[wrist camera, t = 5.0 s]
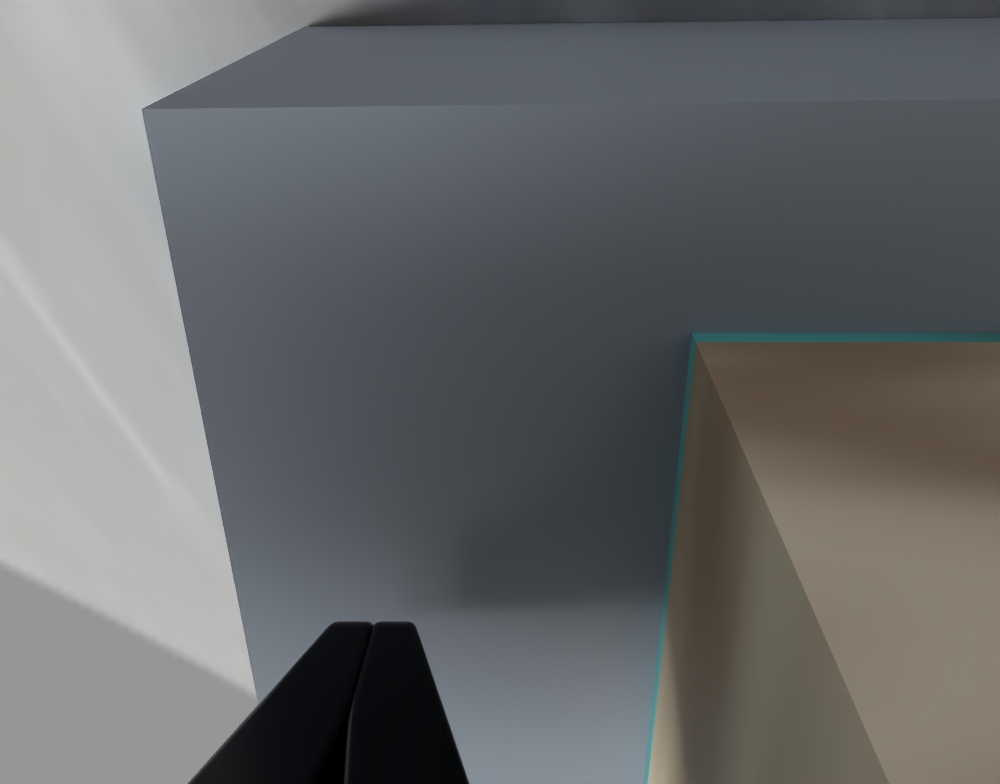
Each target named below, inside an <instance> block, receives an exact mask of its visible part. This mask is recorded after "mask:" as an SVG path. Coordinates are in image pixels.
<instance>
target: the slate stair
mask: <svg viewBox="0 0 1000 784" xmlns="http://www.w3.org/2000/svg"><path fill="white" fill-rule="evenodd" d="M142 113H143V118H144V123H145V128H146V133H147V138H148V143H149V148H150V154H151V159H152V164H153V169H154V174H155V179H156V184H157V189H158V194H159V199H160V205H161V210H162V215H163V220H164V225H165V230H166V235H167V240H168V245H169V250H170V256H171V261H172V266H173V271H174V276H175V281H176V286H177V291H178V296H179V301H180V307H181V312H182V317H183V322H184V327H185V332H186V337H187V342H188V347H189V352H190V358H191V363H192V368H193V373H194V378H195V383H196V388H197V393H198V398H199V403H200V409H201V414H202V419H203V424H204V429H205V434H206V439H207V444H208V449H209V454H210V460H211V465H212V470H213V475H214V480H215V485H216V490H217V495H218V500H219V505H220V511H221V516H222V521H223V526H224V531H225V536H226V541H227V546H228V551H229V557H230V562H231V567H232V572H233V577H234V582H235V587H236V592H237V597H238V602H239V608H240V613H241V618H242V623H243V628H244V633H245V638H246V643H247V648H248V653H249V659H250V664H251V669H252V674H253V679H254V684H255V689H256V694H257V699H258V704H259V703H260V702H261V701H262V700H263V699H264V698H265V697H266V695H267V694H268V693H269V692H270V691H271V690H272V689H273V688H274V686H275V685H276V684H277V683H278V682H279V681H280V680H281V679H282V677H283V676H284V675H285V674H286V673H287V672H288V671H289V670H290V669H291V667H292V666H293V665H294V664H295V663H296V662H297V661H298V660H299V658H300V657H301V656H302V655H303V654H304V653H305V652H306V651H307V649H308V648H309V647H310V646H311V645H312V644H313V643H314V642H315V641H316V639H317V638H318V637H319V636H320V635H321V634H322V633H323V632H324V630H325V629H326V628H327V627H328V626H329V625H330V624H332V623H334V622H337V621H368V622H371V623H372V624H373V625H374V624H375V623H377V622H380V621H408V622H412V623H414V625H415V626H416V628H417V630H418V633H419V636H420V639H421V642H422V645H423V648H424V651H425V654H426V657H427V660H428V663H429V666H430V669H431V672H432V675H433V678H434V680H435V683H436V686H437V689H438V692H439V695H440V698H441V701H442V704H443V707H444V710H445V713H446V716H447V719H448V722H449V725H450V728H451V731H452V733H453V736H454V739H455V742H456V745H457V748H458V751H459V754H460V757H461V760H462V763H463V766H464V769H465V772H466V775H467V778H468V781H469V783H470V784H644V778H645V769H646V760H647V750H648V741H649V731H650V722H651V712H652V703H653V693H654V684H655V675H656V665H657V656H658V646H659V637H660V627H661V618H662V608H663V599H664V590H665V580H666V571H667V561H668V552H669V542H670V533H671V523H672V514H673V505H674V495H675V486H676V476H677V467H678V457H679V448H680V438H681V429H682V420H683V410H684V401H685V391H686V382H687V372H688V363H689V353H690V344H691V335H692V333H1000V18H932V19H856V20H780V21H704V22H628V23H552V24H476V25H400V26H324V27H303V28H301V29H299V30H297V31H295V32H293V33H291V34H289V35H287V36H285V37H283V38H281V39H279V40H278V41H276V42H274V43H272V44H270V45H268V46H266V47H264V48H262V49H260V50H258V51H256V52H254V53H252V54H250V55H248V56H246V57H244V58H242V59H240V60H238V61H236V62H234V63H232V64H230V65H228V66H226V67H224V68H222V69H220V70H218V71H216V72H214V73H212V74H210V75H208V76H206V77H204V78H202V79H200V80H198V81H196V82H194V83H192V84H191V85H189V86H187V87H185V88H183V89H181V90H179V91H177V92H175V93H173V94H171V95H169V96H167V97H165V98H163V99H161V100H159V101H157V102H155V103H153V104H151V105H149V106H147V107H145V108H143V109H142Z"/></svg>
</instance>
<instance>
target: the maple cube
mask: <svg viewBox="0 0 1000 784" xmlns="http://www.w3.org/2000/svg"><path fill="white" fill-rule="evenodd" d="M644 784H1000V333H692V335H691V344H690V353H689V363H688V372H687V382H686V391H685V401H684V410H683V420H682V429H681V438H680V448H679V457H678V467H677V476H676V486H675V495H674V505H673V514H672V523H671V533H670V542H669V552H668V561H667V571H666V580H665V590H664V599H663V608H662V618H661V627H660V637H659V646H658V656H657V665H656V675H655V684H654V693H653V703H652V712H651V722H650V731H649V741H648V750H647V760H646V769H645V778H644Z"/></svg>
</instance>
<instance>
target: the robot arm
mask: <svg viewBox="0 0 1000 784" xmlns="http://www.w3.org/2000/svg"><path fill="white" fill-rule="evenodd" d="M188 784H470V783H469V781H468V778H467V775H466V772H465V769H464V766H463V763H462V760H461V757H460V754H459V751H458V748H457V745H456V742H455V739H454V736H453V733H452V731H451V728H450V725H449V722H448V719H447V716H446V713H445V710H444V707H443V704H442V701H441V698H440V695H439V692H438V689H437V686H436V683H435V680H434V678H433V675H432V672H431V669H430V666H429V663H428V660H427V657H426V654H425V651H424V648H423V645H422V642H421V639H420V636H419V633H418V630H417V628H416V626H415V625H414V623H412V622H408V621H380V622H377V623H375V624H374V625H373V624H372V623H371V622H368V621H337V622H334V623H332V624H330V625H329V626H328V627H327V628H326V629H325V630H324V632H323V633H322V634H321V635H320V636H319V637H318V638H317V639H316V641H315V642H314V643H313V644H312V645H311V646H310V647H309V648H308V649H307V651H306V652H305V653H304V654H303V655H302V656H301V657H300V658H299V660H298V661H297V662H296V663H295V664H294V665H293V666H292V667H291V669H290V670H289V671H288V672H287V673H286V674H285V675H284V676H283V677H282V679H281V680H280V681H279V682H278V683H277V684H276V685H275V686H274V688H273V689H272V690H271V691H270V692H269V693H268V694H267V695H266V697H265V698H264V699H263V700H262V701H261V702H260V703H259V704H258V706H257V707H256V708H255V709H254V710H253V711H252V712H251V713H250V714H249V716H248V717H247V718H246V719H245V720H244V721H243V722H242V724H241V725H240V726H239V727H238V728H237V729H236V730H235V731H234V732H233V734H232V735H231V736H230V737H229V738H228V739H227V740H226V742H224V744H223V745H222V746H221V747H220V748H219V749H218V750H217V751H216V753H215V754H214V755H213V756H212V757H211V758H210V759H209V760H208V761H207V763H206V764H205V765H204V766H203V767H202V768H201V769H200V770H199V772H198V773H197V774H196V775H195V776H194V777H193V778H192V779H191V781H190V782H189V783H188Z"/></svg>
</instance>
